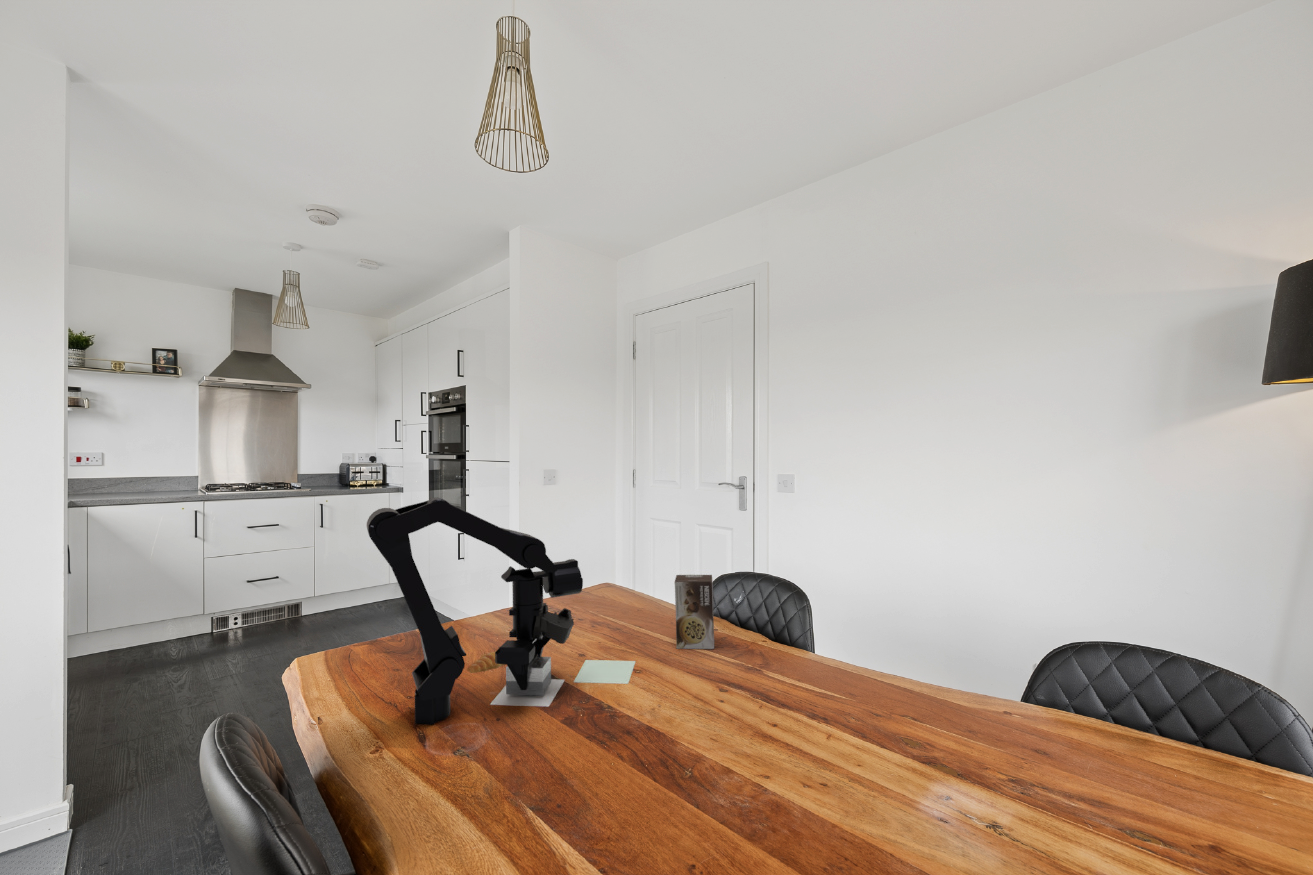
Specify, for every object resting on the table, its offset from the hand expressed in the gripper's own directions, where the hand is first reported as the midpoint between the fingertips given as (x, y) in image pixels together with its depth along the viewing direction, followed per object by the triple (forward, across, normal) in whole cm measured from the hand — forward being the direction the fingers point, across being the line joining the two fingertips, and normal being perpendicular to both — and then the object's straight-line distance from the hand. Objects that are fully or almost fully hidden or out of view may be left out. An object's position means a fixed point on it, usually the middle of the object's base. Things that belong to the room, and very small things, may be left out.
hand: (529, 682), depth 105 cm
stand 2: (+3, +10, -13) cm, 17 cm away
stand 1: (+3, 0, 0) cm, 3 cm away
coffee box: (+3, +30, -31) cm, 43 cm away
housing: (+1, 0, 0) cm, 1 cm away
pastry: (+4, +12, +13) cm, 18 cm away
